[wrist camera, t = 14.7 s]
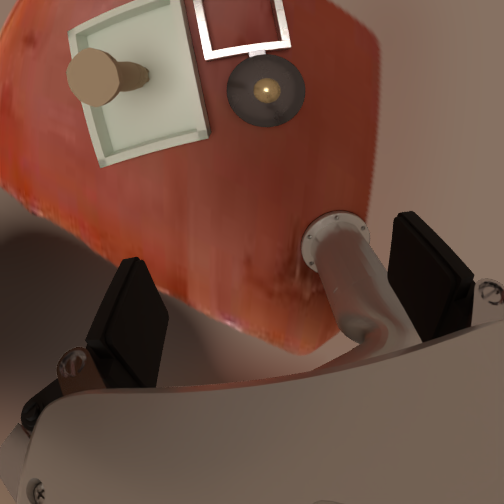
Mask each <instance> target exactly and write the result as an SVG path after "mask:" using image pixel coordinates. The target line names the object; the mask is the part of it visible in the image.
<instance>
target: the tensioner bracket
mask: <svg viewBox="0 0 504 504" xmlns="http://www.w3.org/2000/svg"><path fill="white" fill-rule="evenodd" d="M193 2H194V7H195V12H196V17H197V22H198V27H199V32H200V37H201V42H202V47H203V52H204V57H205V60H206V61H207V62H209V61H213V60H218V59H223V58H229V57H234V56H240V55H247V54H249V58H247V59H245V60H244V61H242V62H241V63H240V64H238V65H237V66H236V68H235V69H234V70H233V71H232V73H231V75H230V77H229V80H228V83H227V97H228V101H229V104H230V106H231V108H232V109H233V111H234V112H235V113H236V114H237V115H238V116H239V117H240V118H241V119H242V120H244V121H246V122H247V123H249V124H252V125H255V126H260V127H273V126H278V125H281V124H283V123H285V122H287V121H289V120H290V119H292V118H293V117H294V116H295V115H296V114H297V113H298V111H299V110H300V108H301V106H302V104H303V102H304V98H305V84H304V81H303V78H302V76H301V74H300V72H299V71H298V69H297V68H296V67H295V66H294V65H293V64H292V63H290V62H289V61H287V60H286V59H284V58H282V57H279V56H276V55H269V54H266V53H265V52H269V51H279V50H288V49H289V48H291V44H290V38H289V33H288V28H287V23H286V18H285V13H284V8H283V4H282V0H270V2H271V7H272V11H273V16H274V21H275V26H276V31H277V36H278V41H277V42H268V43H259V44H252V45H245V46H239V47H233V48H227V49H222V50H216V51H213V49H212V44H211V40H210V35H209V30H208V25H207V20H206V15H205V10H204V5H203V0H193Z"/></svg>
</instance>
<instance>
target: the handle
mask: <svg viewBox="0 0 504 504" xmlns="http://www.w3.org/2000/svg"><path fill="white" fill-rule="evenodd" d="M148 72H149V70H148V69H147V68H145V67H143V66H142V65H140V64H137V63H134V62H127V61H126V62H117V61H116V59H115V58H114V57H112V56H111V55H110V54H109V53H107V52H104V51H101V50H98V49H94V48H86V49H83V50H82V51H80V52H79V53H78V54H77V55H76V56H75V57H74V58H73V59H72V60H71V62H70V64H69V65H68V68H67V71H66V74H67V79H68V84H69V87H70V89H71V91H72V92H73V93H74V95H75V96H76V97H77V98H78V99H79V100H80V101H81V102H83V103H85V104H87V105H90V106H93V107H99V106H103V105H105V104H107V103H109V102H111V101H112V100H113V99H114V98H115V97H116V96H117V95H118V94H119V92H127V91H132V90H136V89H138V88H141V87H143V85H144V84H145V83H147V82H149V80H150V79H149V76H148Z"/></svg>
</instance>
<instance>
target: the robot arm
mask: <svg viewBox="0 0 504 504" xmlns="http://www.w3.org/2000/svg"><path fill="white" fill-rule="evenodd" d="M335 216H336V217H335ZM369 243H370V233H369V230H368V227H367V226H366V224H365V223H364V221H363V220H362V219H361V218H360V217H359V216H357V215H355V214H354V213H351V212H347V211H333V212H330V213H326V214H324V215H322V216H320V217H319V218H317V219H316V220H315V221H313V222H312V223H311V224H310V225H309V227H308V228H307V230H306V231H305V233H304V235H303V237H302V242H301V252H302V256H303V259H304V261H305V262H306V264H307V265H308V266H309V267H310V268H311V269H312V270H314V271H315V272H318V273H319V276H320V279H321V281H322V284H323V287H324V289H325V292H326V295H327V298H328V301H329V303H330V306H331V309H332V312H333V315H334V317H335V320H336V323H337V325H338V327H339V329H340V330H341V331H342V332H343V333H344V334H345V335H346V336H347V337H348V338H350V339H351V340H353V341H355V342H357V343H359V344H360V345H359V346H357V347H355V348H353V349H352V350H351V351H349V352H347V353H345V354H343V355H341V356H339V357H338V358H335V359H333V360H332V361H330V362H328V363H326V364H324V365H322V366H320V367H318V368H316V369H314V370H312V371H309V372H304V373H298V374H292V375H286V376H280V377H273V378H266V379H259V380H251V381H243V382H234V383H225V384H213V385H200V386H183V387H160V388H156V383H157V377H158V372H159V366H160V361H161V356H162V350H163V344H164V340H165V335H166V330H167V326H168V320H169V316H168V311H167V309H166V307H165V305H164V303H163V301H162V299H161V297H160V295H159V293H158V290H157V288H156V286H155V284H154V282H153V280H152V277H151V275H150V273H149V271H148V268H147V266H146V264H145V262H144V261H143V260H140V259H139V258H138V257H133V258H128V259H123V260H122V262H121V264H120V266H119V268H118V270H117V272H116V274H115V276H114V278H113V280H112V282H111V284H110V286H109V288H108V290H107V292H106V294H105V296H104V299H103V301H102V303H101V305H100V307H99V309H98V312H97V314H96V316H95V318H94V321H93V323H92V325H91V328H90V330H89V332H88V335H87V337H86V340H85V341H86V342H87V343H88V344H87V346H86V348H84V347H75V348H72V349H70V350H68V351H67V352H66V353H64V354H63V356H62V357H61V358H60V359H59V361H58V364H57V368H56V372H57V377H58V378H57V379H56V380H54V381H53V382H52V383H50V384H49V385H48V386H47V387H45V388H44V389H43V390H42V391H40V392H39V393H38V394H36V395H35V396H34V397H32V398H31V399H30V400H29V401H28V402H27V403H26V404H25V406H24V407H23V410H22V413H21V421H22V425H21V424H19V423H18V424H17V425H16V426H15V428H14V429H13V430H12V432H11V433H10V434H9V436H8V437H7V438H6V440H5V441H4V443H3V444H2V445H1V447H0V478H1V479H2V481H3V483H4V485H5V486H6V488H7V489H8V491H9V492H10V494H11V495H12V497H13V499H14V500H15V502H16V503H17V504H504V286H503V285H502V284H501V283H499V282H498V281H496V280H493V279H488V278H485V279H481V280H479V281H478V282H477V283H475V282H474V281H473V278H474V274H473V273H472V271H471V270H470V269H469V268H468V267H467V266H466V265H465V264H464V262H462V260H461V259H460V258H459V257H458V256H457V255H456V254H455V253H454V252H453V250H452V249H451V248H450V247H449V246H448V245H447V244H446V243H445V242H444V241H443V240H442V239H441V238H440V237H439V236H438V235H437V234H436V233H435V232H434V231H433V230H432V229H431V228H430V227H429V226H428V225H427V224H426V223H425V222H424V221H423V220H422V219H421V218H420V217H419V216H418V215H417V214H416V213H415V212H413V211H409V212H402V213H399V214H398V215H397V217H395V218H394V222H393V232H392V242H391V251H390V258H389V266H388V272H387V271H386V269H385V267H384V266H383V265H382V263H381V261H380V260H379V258H378V257H377V255H376V254H375V253H374V251H373V250H372V248H371V247H370V245H369Z"/></svg>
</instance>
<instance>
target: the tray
mask: <svg viewBox="0 0 504 504" xmlns="http://www.w3.org/2000/svg"><path fill="white" fill-rule="evenodd" d="M67 32H68V38H69V45H70V51H71V56H72V59H73V58H74V57H75V56H76V55H77V54H78V53H79V52H80V51H82V50H83V49H86V48H94V49H98V50H101V51H104V52H107V53H109V54H110V55H111V56H112V57H114V58H115V59H116V61H117V62H126V61H127V62H134V63H137V64H140V65H142V66H143V67H145V68H147V69H148V70H149V72H148V76H149V79H150V80H149V82H147V83H145V84H144V85H143V87H141V88H138V89H136V90H132V91H127V92H119V94H118V95H117V96H116V97H115V98H114V99H113V100H112V101H111V102H109V103H107V104H105V105H103V106H99V107H93V106H90V105H87V104H85V103H83V102H81V103H82V107H83V111H84V115H85V118H86V122H87V126H88V129H89V133H90V136H91V140H92V143H93V146H94V150H95V153H96V156H97V159H98V162H99V165H100V168H102V167H105V166H108V165H111V164H114V163H118V162H121V161H124V160H127V159H130V158H134V157H137V156H140V155H144V154H147V153H151V152H155V151H158V150H162V149H166V148H170V147H174V146H178V145H182V144H186V143H190V142H194V141H199V140H203V139H208V138H209V136H210V134H211V129H210V125H209V120H208V115H207V111H206V106H205V101H204V97H203V92H202V87H201V82H200V78H199V73H198V68H197V63H196V58H195V53H194V49H193V44H192V39H191V34H190V29H189V24H188V19H187V14H186V9H185V3H184V0H135V1H132V2H130V3H127V4H125V5H122V6H120V7H117V8H115V9H112V10H110V11H108V12H105V13H103V14H101V15H99V16H97V17H95V18H93V19H90V20H88V21H86V22H84V23H82V24H81V25H79V26H77V27H75V28H73V29H71V30H69V31H67Z"/></svg>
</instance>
